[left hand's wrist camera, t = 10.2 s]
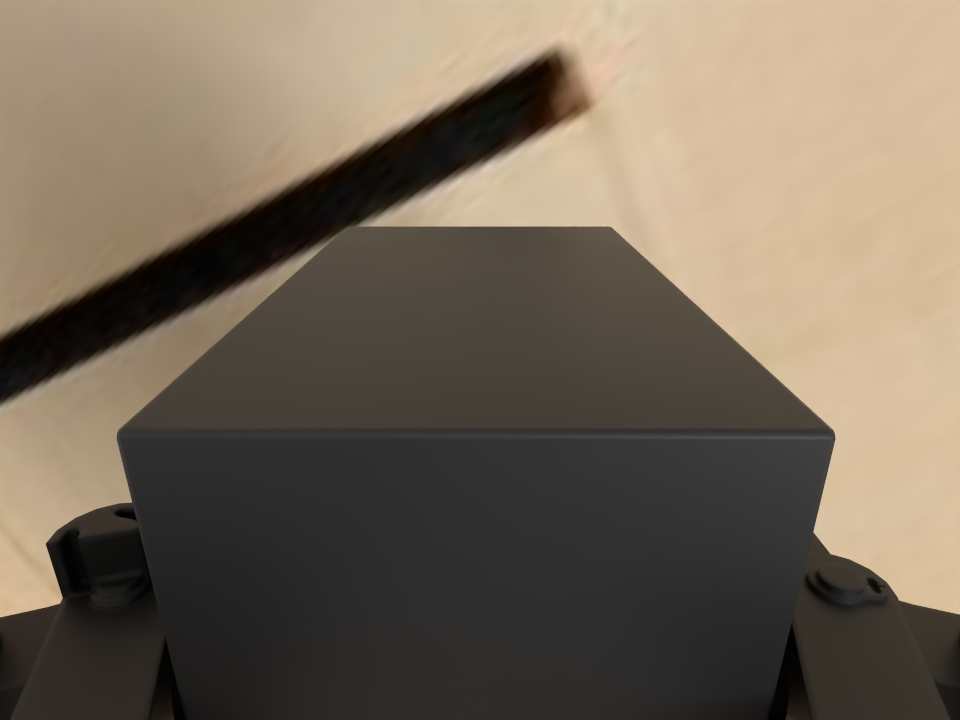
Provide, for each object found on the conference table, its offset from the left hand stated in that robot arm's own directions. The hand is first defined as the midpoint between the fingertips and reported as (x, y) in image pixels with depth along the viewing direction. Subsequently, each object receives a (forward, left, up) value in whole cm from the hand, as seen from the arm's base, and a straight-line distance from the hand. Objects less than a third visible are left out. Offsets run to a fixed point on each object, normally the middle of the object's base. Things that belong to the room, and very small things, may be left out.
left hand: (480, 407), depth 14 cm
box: (+8, +2, -1) cm, 9 cm away
